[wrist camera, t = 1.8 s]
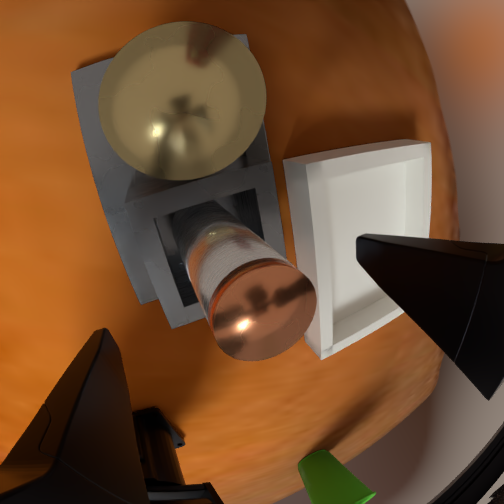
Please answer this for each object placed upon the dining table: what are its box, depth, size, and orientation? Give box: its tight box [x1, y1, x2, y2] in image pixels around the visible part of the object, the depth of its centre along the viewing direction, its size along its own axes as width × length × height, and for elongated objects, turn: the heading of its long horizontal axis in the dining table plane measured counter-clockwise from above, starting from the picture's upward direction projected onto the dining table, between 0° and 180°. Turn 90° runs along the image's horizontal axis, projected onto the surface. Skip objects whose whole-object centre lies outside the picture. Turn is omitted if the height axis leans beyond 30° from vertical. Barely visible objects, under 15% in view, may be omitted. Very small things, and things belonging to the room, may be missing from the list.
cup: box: [298, 450, 376, 504], centre depth 29 cm, size 9×9×11 cm
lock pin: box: [172, 200, 317, 361], centre depth 11 cm, size 3×3×9 cm
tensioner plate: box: [71, 21, 287, 329], centre depth 12 cm, size 13×9×5 cm
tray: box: [283, 139, 432, 360], centre depth 19 cm, size 14×11×2 cm
